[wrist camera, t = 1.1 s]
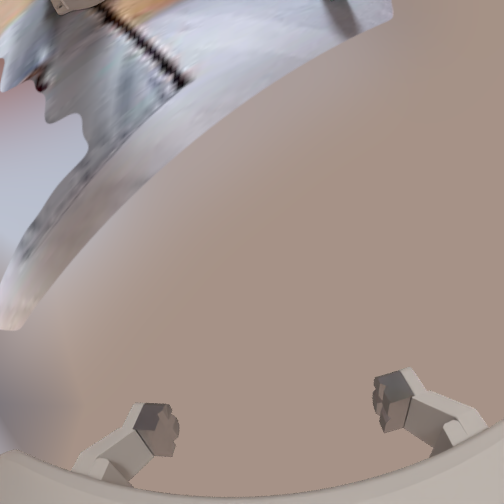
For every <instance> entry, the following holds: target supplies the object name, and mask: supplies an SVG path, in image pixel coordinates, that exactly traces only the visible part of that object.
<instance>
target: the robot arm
mask: <svg viewBox="0 0 504 504" xmlns="http://www.w3.org/2000/svg"><path fill="white" fill-rule="evenodd" d="M103 1H105V0H51V2H52V4H53V6H54V8H55V10H56V12H57V13H58V15H63V14H66V13H68V12H70V11H73V10H80V9H86V8H89V7H92V6H95V5H97V4H99V3H101V2H103ZM60 7H61V8H60ZM374 386H375V388H376V389H375V391H374V392H373V398H372V399H373V406H374V409H375V412H376V414H378V415H379V416H380V420H379V422H380V425H381V427H382V429H383V432H384V433H387V432H390V431H394V430H397V429H400V428H404V429H406V430H407V431H409V432H410V433H412V434H413V435H415V436H416V437H418V438H419V439H421V440H422V441H424V442H425V443H427V444H428V445H430V446H431V447H433V450H432V453H431V455H430V457H429V458H428V459H425V460H423V461H420V462H418V463H415V464H413V465H410V466H407V467H404V468H401V469H399V470H396V471H393V472H390V473H386V474H383V475H380V476H377V477H373V478H370V479H366V480H362V481H358V482H354V483H350V484H345V485H341V486H336V487H331V488H326V489H320V490H314V491H308V492H301V493H293V494H284V495H273V496H257V497H204V496H188V495H178V494H169V493H162V492H155V491H148V490H142V489H137V488H134V487H133V486H132V485H131V484H130V483H129V482H128V481H129V480H130V479H132V478H133V477H134V476H135V475H136V474H137V473H138V472H139V471H140V470H141V469H142V468H143V467H144V466H145V465H146V464H147V463H148V462H149V461H150V460H151V459H152V458H153V457H154V456H165V457H166V456H167V457H172V456H173V452H174V449H175V443H174V440H175V439H176V438H177V437H178V435H179V423H178V420H177V418H176V417H175V416H174V415H172V414H171V412H172V409H171V407H170V405H169V404H157V403H155V404H154V403H135V404H133V406H132V408H131V410H130V412H129V414H128V416H127V418H126V420H125V422H124V424H123V426H122V428H118V429H116V430H115V431H114V432H112V433H110V434H109V435H107V436H106V437H104V438H103V439H101V440H100V441H98V442H97V443H95V444H94V445H92V446H90V447H89V448H87V449H86V450H84V451H82V452H81V454H80V455H79V457H78V459H77V461H76V463H75V465H74V467H73V468H72V470H71V471H68V470H66V469H63V468H60V467H57V466H55V465H52V464H50V463H47V462H44V461H42V460H40V459H37V458H35V457H33V456H30V455H28V454H26V453H24V452H22V451H20V450H11V451H8V452H5V453H3V454H1V455H0V504H504V419H503V420H501V421H499V422H498V423H496V424H495V425H493V426H491V427H490V428H488V426H487V425H486V423H485V422H484V420H483V419H482V417H481V416H480V414H479V413H478V411H477V410H476V409H475V408H473V407H470V406H468V405H465V404H463V403H460V402H457V401H455V400H453V399H450V398H447V397H445V396H442V395H440V394H438V393H435V392H433V391H427V390H426V389H425V388H424V386H423V384H422V383H421V381H420V380H419V378H418V377H417V375H416V374H415V372H414V371H413V369H412V368H411V367H408V368H404V369H401V370H398V371H395V372H392V373H389V374H385V375H382V376H378V377H375V379H374Z"/></svg>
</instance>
